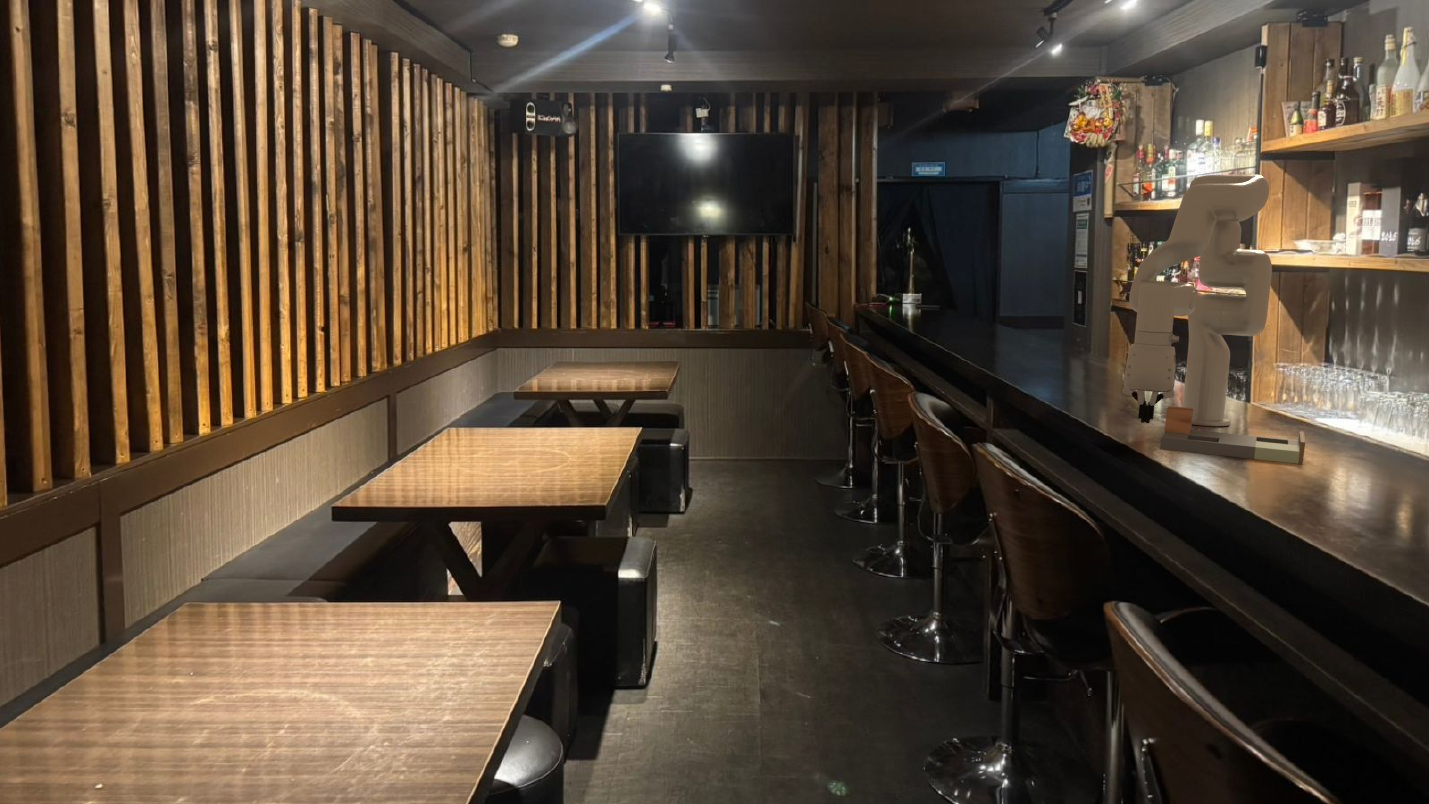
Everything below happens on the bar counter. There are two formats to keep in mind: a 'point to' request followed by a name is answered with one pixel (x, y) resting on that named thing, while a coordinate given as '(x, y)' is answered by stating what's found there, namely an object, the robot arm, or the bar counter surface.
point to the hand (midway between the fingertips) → (1145, 422)
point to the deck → (1236, 445)
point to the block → (1179, 420)
